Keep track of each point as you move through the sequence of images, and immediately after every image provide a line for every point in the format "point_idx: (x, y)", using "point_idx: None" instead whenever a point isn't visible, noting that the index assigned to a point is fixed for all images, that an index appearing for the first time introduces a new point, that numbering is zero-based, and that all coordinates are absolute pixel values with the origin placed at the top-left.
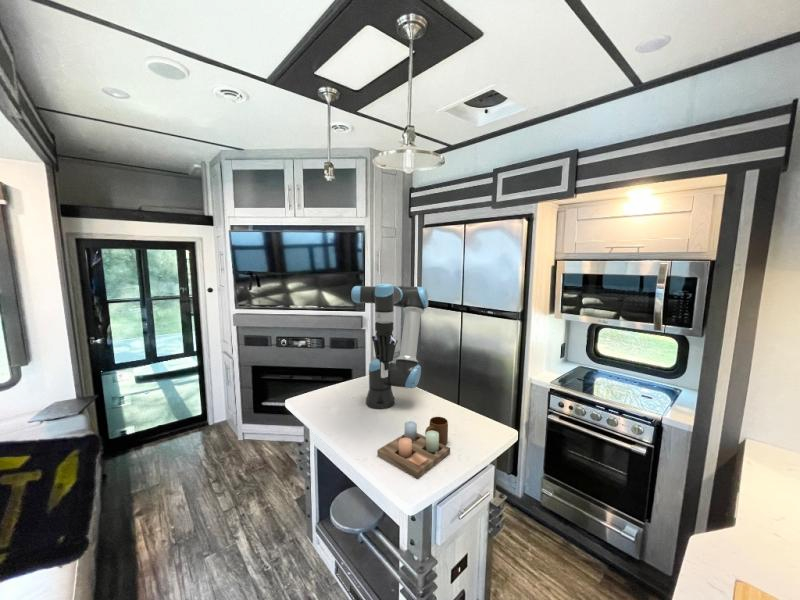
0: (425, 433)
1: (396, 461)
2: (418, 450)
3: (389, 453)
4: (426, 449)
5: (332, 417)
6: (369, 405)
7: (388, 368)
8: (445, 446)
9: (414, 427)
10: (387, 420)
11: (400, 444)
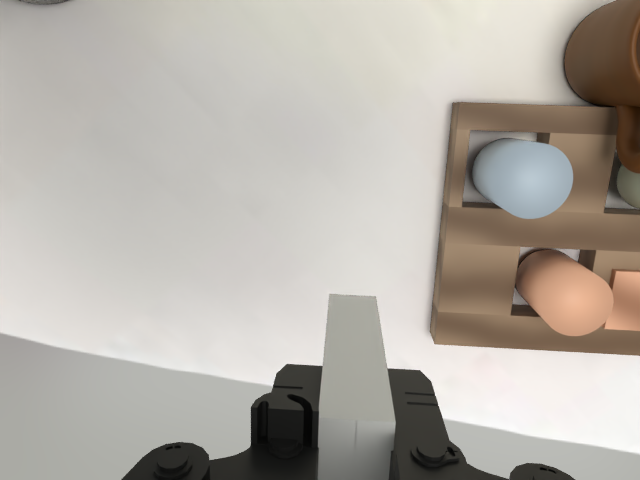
0: (632, 171)
1: (551, 348)
2: (598, 233)
3: (496, 332)
4: (632, 205)
5: (9, 235)
6: (32, 1)
7: (430, 392)
8: None
9: (568, 190)
10: (244, 58)
11: (566, 333)
